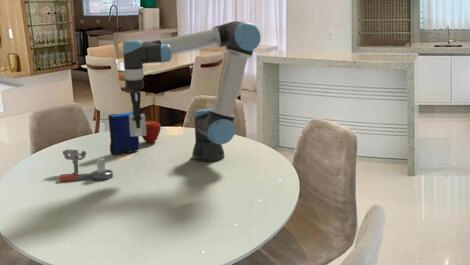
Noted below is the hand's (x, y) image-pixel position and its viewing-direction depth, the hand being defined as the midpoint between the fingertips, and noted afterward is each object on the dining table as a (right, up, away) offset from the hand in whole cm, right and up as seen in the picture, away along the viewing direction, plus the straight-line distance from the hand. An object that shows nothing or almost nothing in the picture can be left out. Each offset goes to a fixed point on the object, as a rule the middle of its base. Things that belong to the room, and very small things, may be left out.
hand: (138, 133), depth 236 cm
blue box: (-14, -10, +40) cm, 44 cm away
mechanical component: (-29, -17, +11) cm, 36 cm away
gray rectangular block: (0, 0, 0) cm, 0 cm away
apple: (-4, -5, +58) cm, 59 cm away
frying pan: (-22, -19, +3) cm, 29 cm away
